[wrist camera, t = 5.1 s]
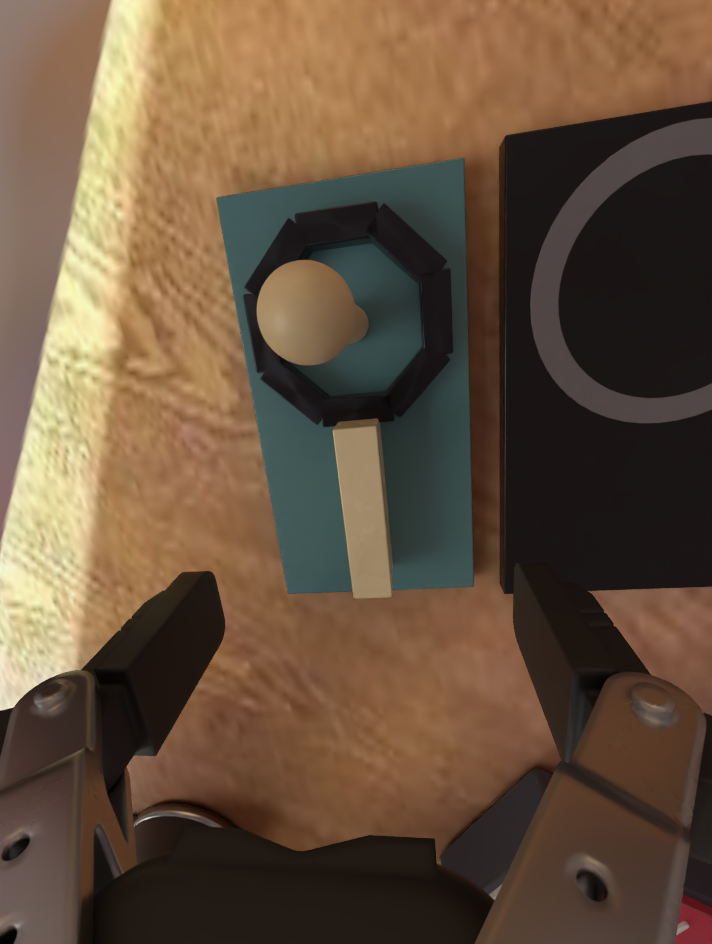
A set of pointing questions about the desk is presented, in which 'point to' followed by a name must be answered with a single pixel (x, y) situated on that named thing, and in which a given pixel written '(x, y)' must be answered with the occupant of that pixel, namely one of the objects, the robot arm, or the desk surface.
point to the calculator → (500, 835)
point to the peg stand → (360, 375)
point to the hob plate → (607, 350)
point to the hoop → (365, 410)
